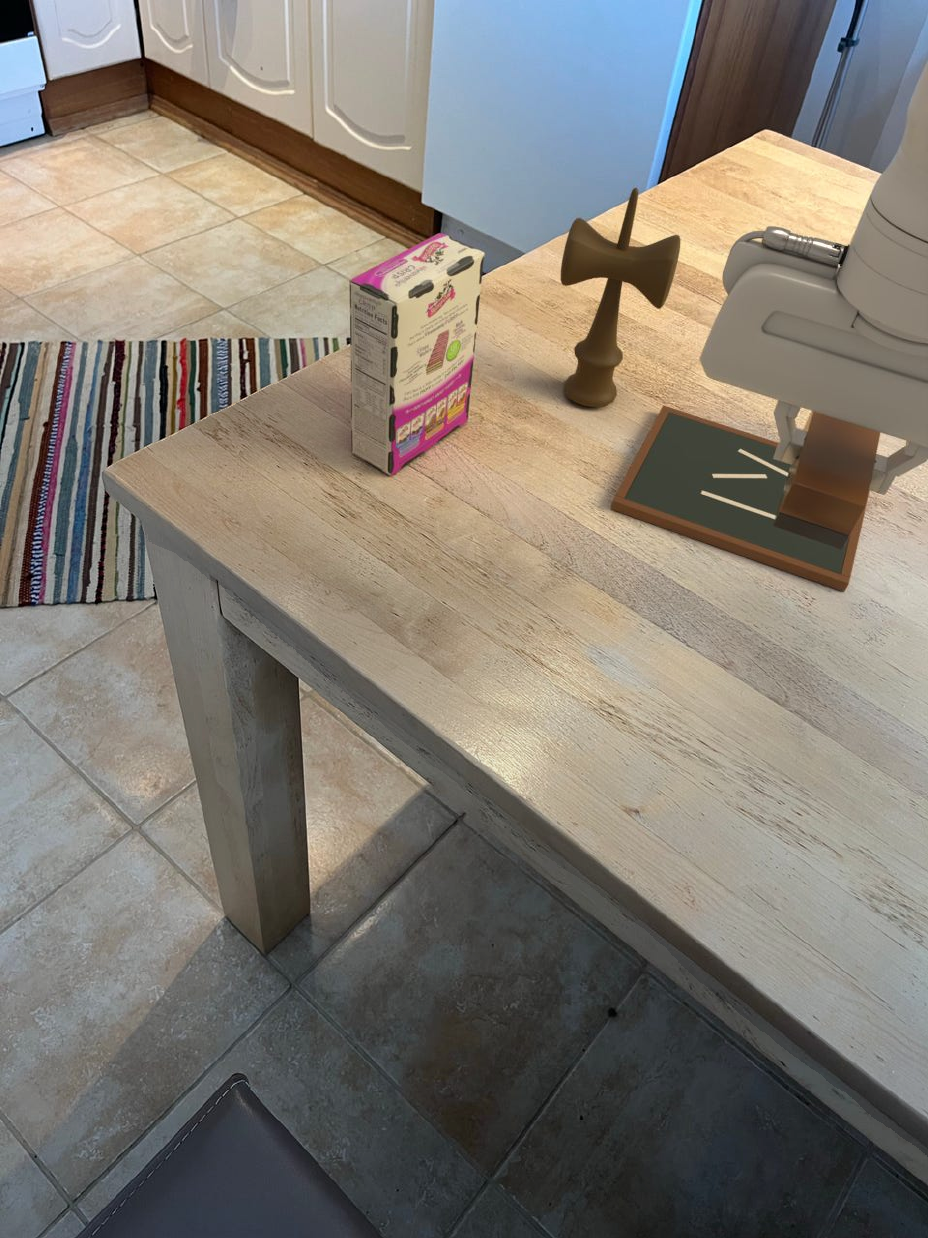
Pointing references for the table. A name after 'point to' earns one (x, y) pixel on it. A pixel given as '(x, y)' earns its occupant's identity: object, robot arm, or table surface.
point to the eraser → (828, 481)
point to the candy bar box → (412, 350)
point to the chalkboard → (724, 496)
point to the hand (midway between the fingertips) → (829, 472)
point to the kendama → (612, 297)
